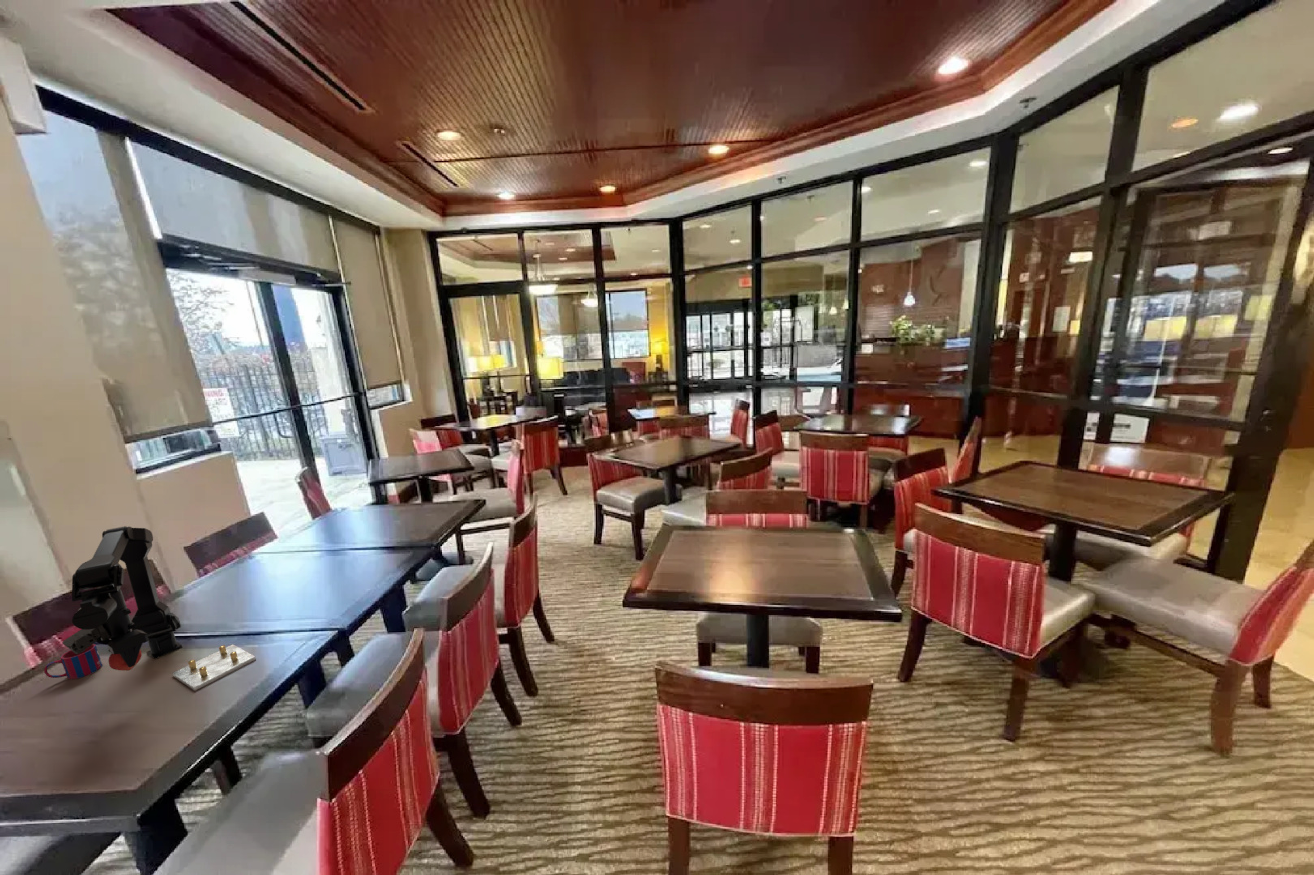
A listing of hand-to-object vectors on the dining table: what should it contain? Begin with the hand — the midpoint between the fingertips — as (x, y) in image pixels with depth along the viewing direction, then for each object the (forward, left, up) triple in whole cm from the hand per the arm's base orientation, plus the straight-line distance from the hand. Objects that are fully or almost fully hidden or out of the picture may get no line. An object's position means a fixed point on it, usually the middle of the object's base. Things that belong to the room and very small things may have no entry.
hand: (127, 663), depth 125 cm
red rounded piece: (0, 0, -2) cm, 2 cm away
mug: (-32, -4, -11) cm, 34 cm away
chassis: (+4, +15, -11) cm, 19 cm away
